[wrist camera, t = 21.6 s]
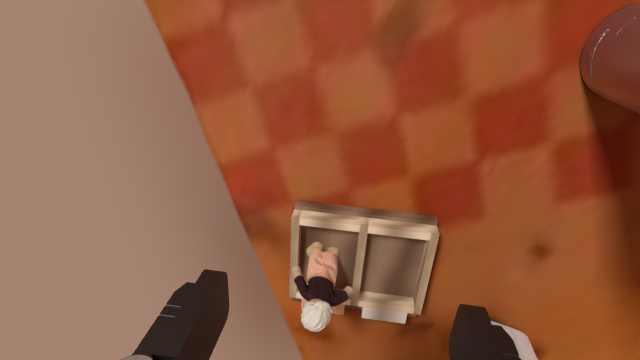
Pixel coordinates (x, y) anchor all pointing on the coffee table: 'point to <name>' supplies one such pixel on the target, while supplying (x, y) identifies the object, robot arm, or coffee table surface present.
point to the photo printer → (520, 342)
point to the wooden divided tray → (368, 256)
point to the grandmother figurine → (320, 286)
